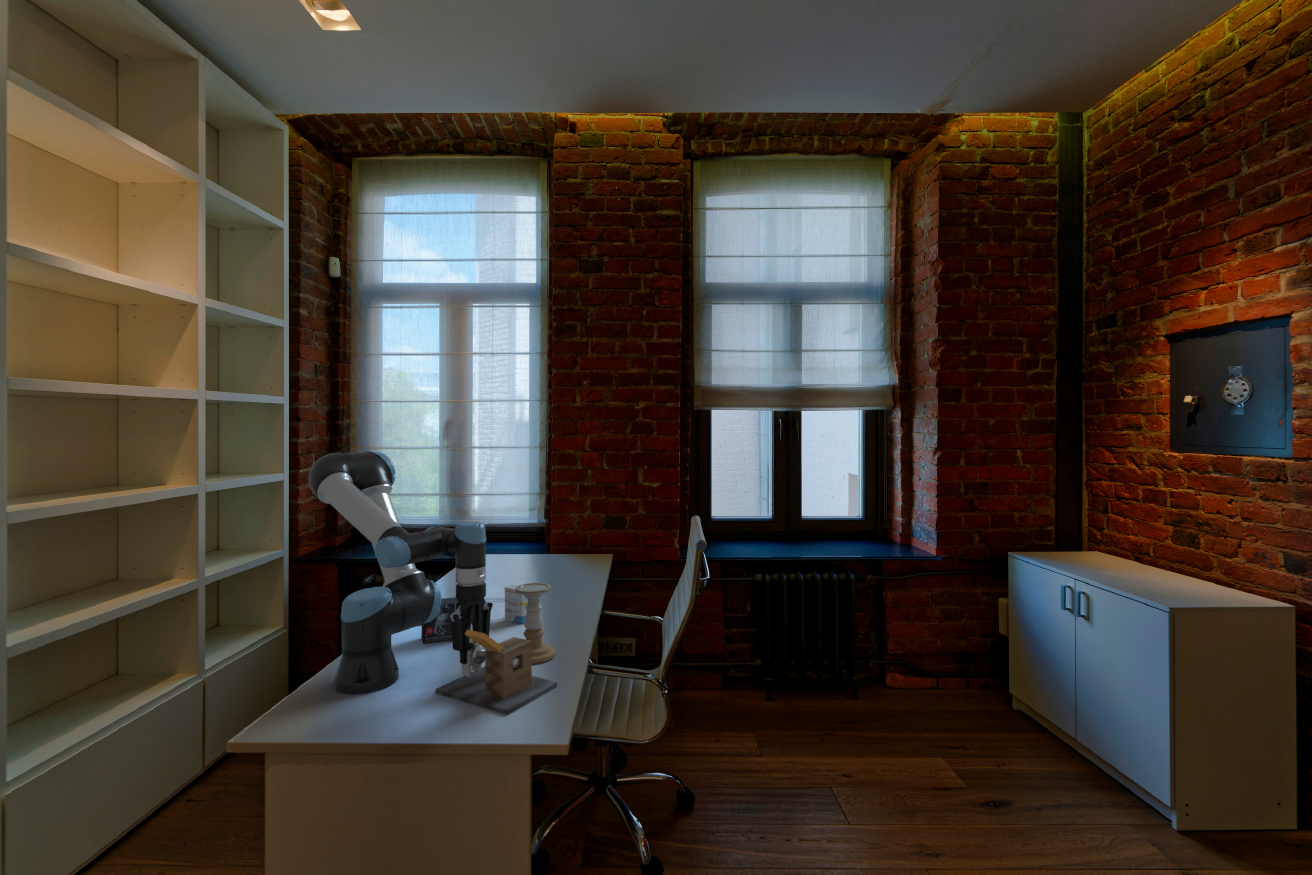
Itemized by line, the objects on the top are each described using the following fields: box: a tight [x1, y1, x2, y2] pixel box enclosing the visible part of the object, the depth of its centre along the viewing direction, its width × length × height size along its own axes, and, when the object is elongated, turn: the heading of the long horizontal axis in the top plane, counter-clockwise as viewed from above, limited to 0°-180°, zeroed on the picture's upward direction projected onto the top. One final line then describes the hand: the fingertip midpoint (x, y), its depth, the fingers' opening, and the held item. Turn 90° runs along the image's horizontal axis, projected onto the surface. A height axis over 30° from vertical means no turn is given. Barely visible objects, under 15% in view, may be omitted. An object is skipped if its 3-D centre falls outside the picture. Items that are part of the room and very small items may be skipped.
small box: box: [420, 596, 458, 645], centre depth 192 cm, size 13×7×12 cm, turn 114°
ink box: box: [504, 581, 528, 625], centre depth 212 cm, size 8×8×12 cm
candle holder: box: [515, 582, 556, 665], centre depth 177 cm, size 12×12×20 cm
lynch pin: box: [469, 638, 520, 668], centre depth 155 cm, size 18×5×6 cm, turn 60°
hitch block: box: [434, 636, 558, 716], centre depth 154 cm, size 24×18×12 cm
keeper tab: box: [465, 629, 504, 652], centre depth 145 cm, size 6×9×1 cm
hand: (471, 672), depth 159 cm, fingers closed on lynch pin, 3 cm apart
